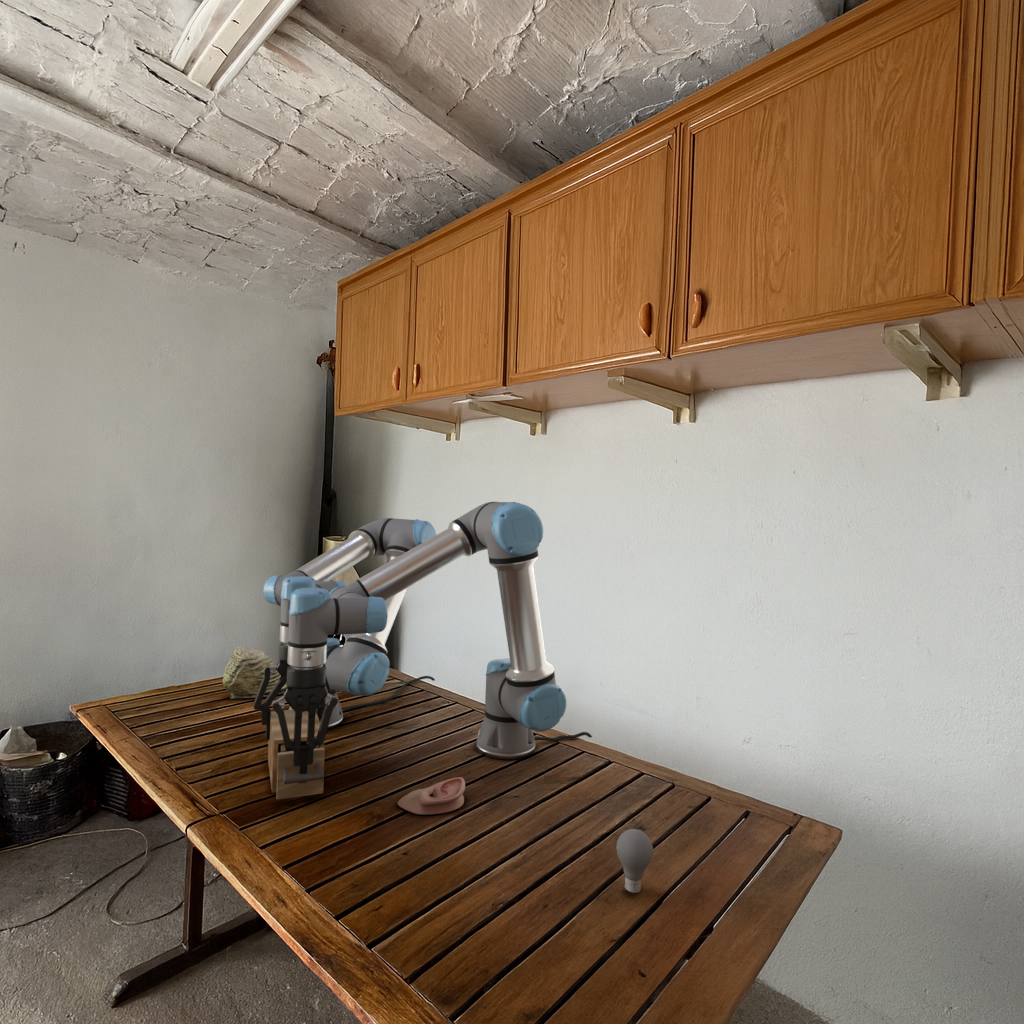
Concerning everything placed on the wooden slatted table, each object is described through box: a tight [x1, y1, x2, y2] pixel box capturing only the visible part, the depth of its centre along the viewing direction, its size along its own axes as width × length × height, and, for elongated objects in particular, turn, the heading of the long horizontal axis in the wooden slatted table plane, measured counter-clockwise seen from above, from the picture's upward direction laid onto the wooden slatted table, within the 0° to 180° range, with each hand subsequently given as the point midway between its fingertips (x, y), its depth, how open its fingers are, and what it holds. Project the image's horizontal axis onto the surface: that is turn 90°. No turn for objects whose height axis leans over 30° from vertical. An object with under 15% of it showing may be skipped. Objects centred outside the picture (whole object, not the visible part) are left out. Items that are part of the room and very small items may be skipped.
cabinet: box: [267, 709, 325, 794], centre depth 145 cm, size 18×10×11 cm, turn 24°
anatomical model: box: [397, 776, 466, 816], centre depth 133 cm, size 13×4×12 cm
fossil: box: [222, 646, 287, 699], centre depth 198 cm, size 9×18×15 cm, turn 132°
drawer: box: [275, 741, 326, 801], centre depth 137 cm, size 23×9×9 cm, turn 24°
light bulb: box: [615, 828, 654, 894], centre depth 106 cm, size 6×6×10 cm
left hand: (292, 735), depth 150 cm, fingers closed on cabinet, 10 cm apart
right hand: (302, 780), depth 129 cm, fingers closed
